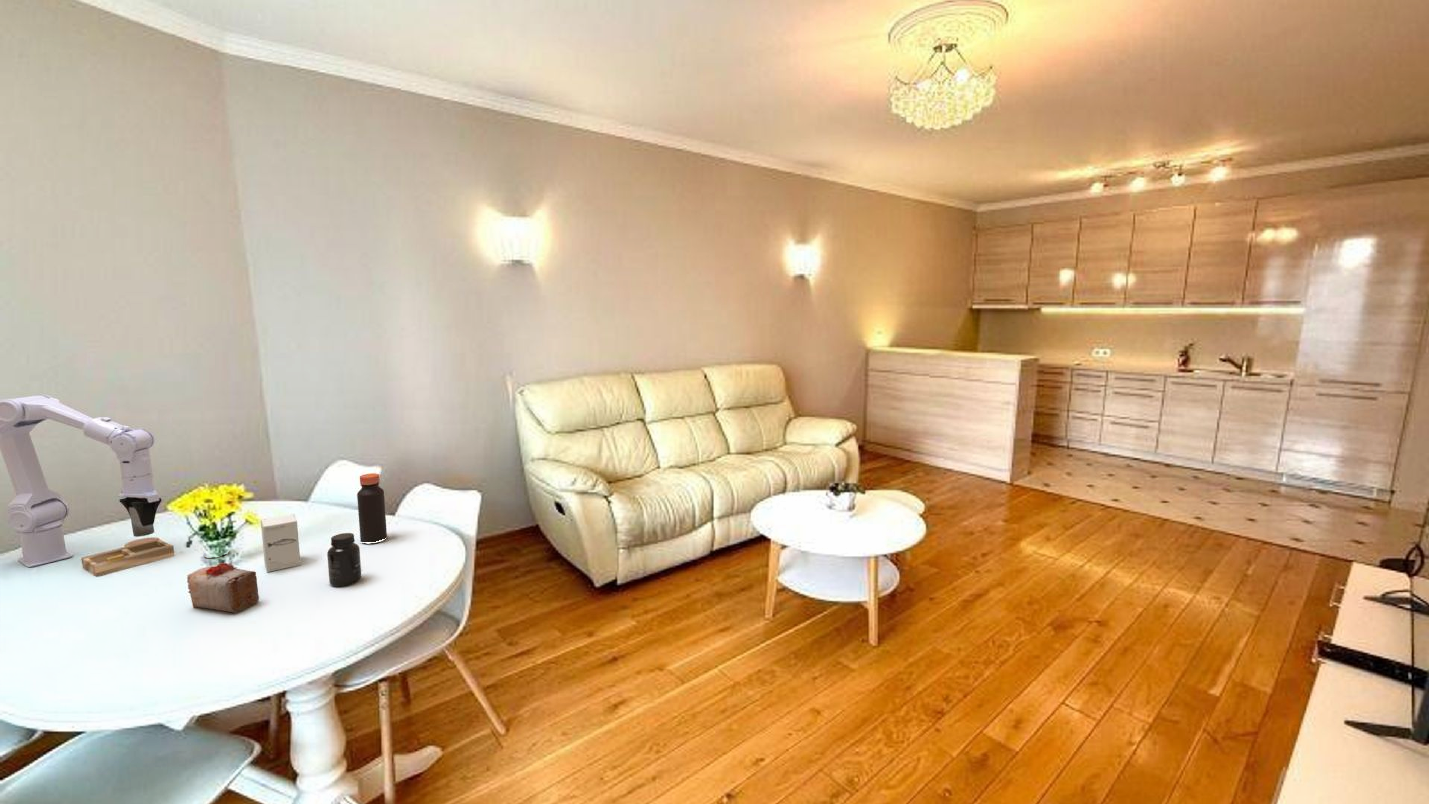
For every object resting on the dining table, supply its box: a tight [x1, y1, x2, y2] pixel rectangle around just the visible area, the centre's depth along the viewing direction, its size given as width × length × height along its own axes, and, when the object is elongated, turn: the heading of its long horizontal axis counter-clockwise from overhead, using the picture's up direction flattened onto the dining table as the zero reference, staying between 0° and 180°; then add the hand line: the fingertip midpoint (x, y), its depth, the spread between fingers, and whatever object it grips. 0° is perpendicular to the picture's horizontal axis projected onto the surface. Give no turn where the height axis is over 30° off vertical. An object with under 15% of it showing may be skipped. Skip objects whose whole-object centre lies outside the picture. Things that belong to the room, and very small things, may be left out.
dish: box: [123, 536, 160, 547], centre depth 159 cm, size 7×7×2 cm
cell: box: [129, 506, 155, 538], centre depth 152 cm, size 4×4×9 cm
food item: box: [186, 560, 260, 614], centre depth 130 cm, size 14×8×10 cm, turn 78°
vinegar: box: [356, 472, 388, 543], centre depth 167 cm, size 7×7×20 cm
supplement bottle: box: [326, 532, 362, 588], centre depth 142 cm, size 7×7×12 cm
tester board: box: [81, 538, 175, 578], centre depth 151 cm, size 10×15×4 cm, turn 152°
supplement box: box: [260, 513, 302, 573], centre depth 150 cm, size 7×7×13 cm
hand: (143, 523), depth 153 cm, fingers closed on cell, 4 cm apart
